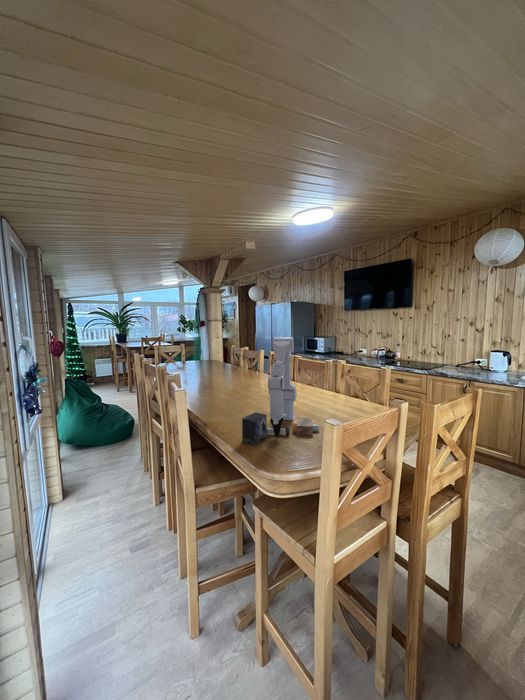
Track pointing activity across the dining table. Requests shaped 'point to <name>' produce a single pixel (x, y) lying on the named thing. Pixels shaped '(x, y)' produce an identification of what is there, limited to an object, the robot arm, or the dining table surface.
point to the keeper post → (287, 431)
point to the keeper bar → (270, 431)
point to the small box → (254, 428)
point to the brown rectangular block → (315, 426)
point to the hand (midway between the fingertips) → (277, 435)
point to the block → (304, 426)
